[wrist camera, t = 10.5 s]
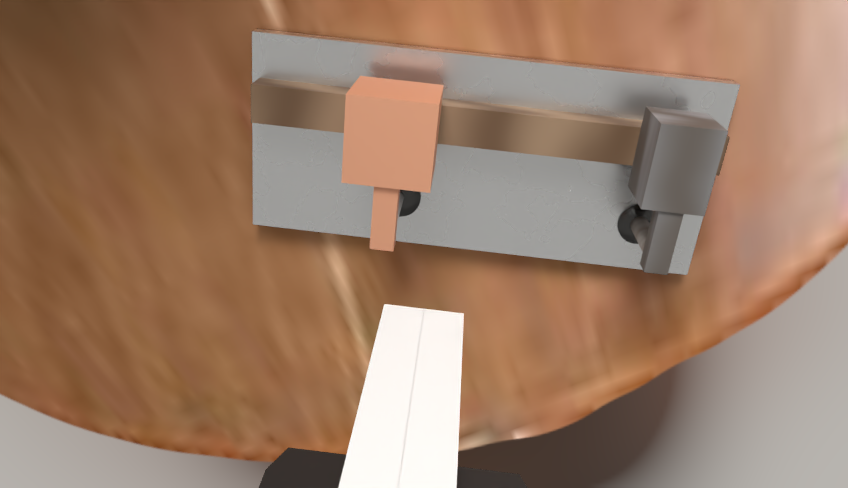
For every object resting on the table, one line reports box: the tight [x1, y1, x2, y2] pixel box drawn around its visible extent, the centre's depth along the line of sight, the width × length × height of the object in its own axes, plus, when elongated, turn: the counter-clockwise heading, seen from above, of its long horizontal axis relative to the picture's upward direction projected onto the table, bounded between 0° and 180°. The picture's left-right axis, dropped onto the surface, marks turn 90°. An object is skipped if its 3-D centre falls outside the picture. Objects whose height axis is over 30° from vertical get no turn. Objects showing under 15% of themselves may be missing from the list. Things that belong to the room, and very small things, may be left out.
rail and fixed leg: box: [251, 78, 730, 275], centre depth 43 cm, size 29×9×6 cm, turn 84°
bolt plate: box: [252, 29, 740, 275], centre depth 47 cm, size 30×13×1 cm, turn 84°
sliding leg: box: [341, 76, 444, 251], centre depth 43 cm, size 5×9×7 cm, turn 174°
